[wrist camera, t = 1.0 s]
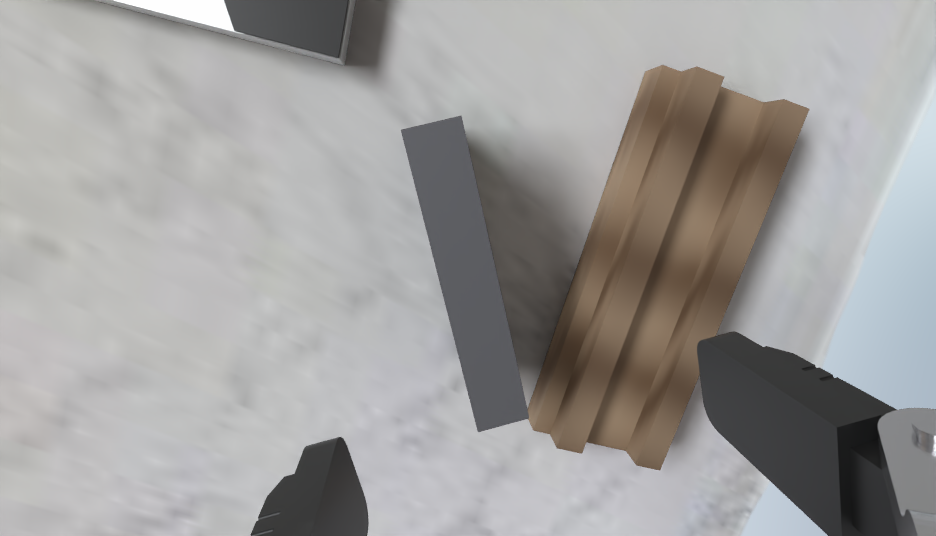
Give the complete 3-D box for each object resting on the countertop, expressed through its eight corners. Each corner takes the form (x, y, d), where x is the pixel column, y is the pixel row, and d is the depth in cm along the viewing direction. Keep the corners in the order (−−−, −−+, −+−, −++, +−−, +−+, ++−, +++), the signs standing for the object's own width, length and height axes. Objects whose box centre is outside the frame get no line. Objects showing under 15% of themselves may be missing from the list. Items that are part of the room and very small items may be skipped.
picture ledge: (649, 441, 33) (675, 473, 30) (525, 413, 32) (539, 444, 28) (778, 120, 29) (827, 115, 26) (645, 71, 28) (677, 59, 24)
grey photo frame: (500, 352, 31) (529, 418, 23) (461, 362, 31) (478, 432, 23) (447, 127, 27) (461, 115, 20) (404, 138, 27) (400, 129, 20)
